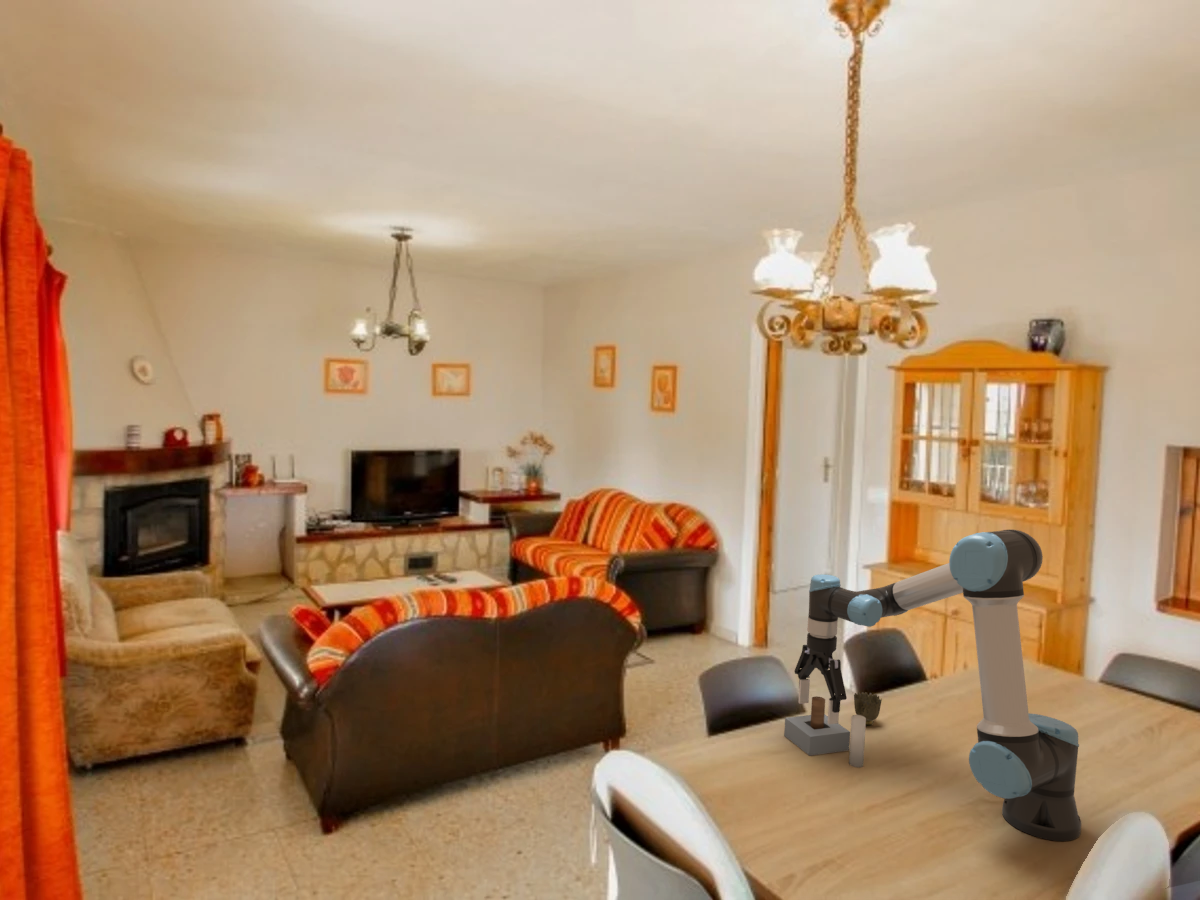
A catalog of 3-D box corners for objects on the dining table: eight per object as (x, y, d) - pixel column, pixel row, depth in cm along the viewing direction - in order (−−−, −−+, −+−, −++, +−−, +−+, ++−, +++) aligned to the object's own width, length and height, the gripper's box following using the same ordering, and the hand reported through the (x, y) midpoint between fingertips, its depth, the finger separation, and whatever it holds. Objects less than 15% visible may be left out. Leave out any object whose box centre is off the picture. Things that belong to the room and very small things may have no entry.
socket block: (849, 750, 207) (850, 731, 207) (809, 755, 203) (810, 736, 203) (822, 731, 219) (823, 713, 218) (784, 735, 215) (785, 717, 214)
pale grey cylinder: (866, 766, 199) (868, 719, 198) (854, 767, 198) (857, 721, 197) (857, 760, 202) (860, 714, 201) (846, 761, 201) (848, 715, 200)
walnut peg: (825, 745, 210) (827, 700, 209) (814, 746, 209) (816, 702, 208) (818, 739, 213) (820, 695, 212) (807, 740, 212) (809, 697, 211)
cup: (883, 730, 220) (885, 702, 220) (857, 729, 221) (858, 701, 220) (875, 719, 228) (876, 692, 227) (849, 718, 228) (850, 690, 227)
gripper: (864, 648, 198) (859, 730, 200) (807, 619, 222) (803, 693, 223) (838, 650, 196) (833, 734, 197) (784, 621, 219) (780, 696, 221)
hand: (817, 712), depth 210 cm, fingers open, 13 cm apart
